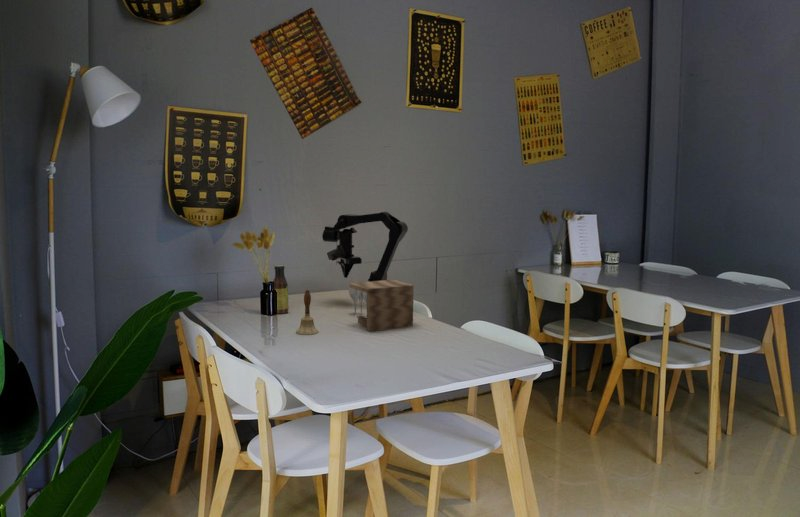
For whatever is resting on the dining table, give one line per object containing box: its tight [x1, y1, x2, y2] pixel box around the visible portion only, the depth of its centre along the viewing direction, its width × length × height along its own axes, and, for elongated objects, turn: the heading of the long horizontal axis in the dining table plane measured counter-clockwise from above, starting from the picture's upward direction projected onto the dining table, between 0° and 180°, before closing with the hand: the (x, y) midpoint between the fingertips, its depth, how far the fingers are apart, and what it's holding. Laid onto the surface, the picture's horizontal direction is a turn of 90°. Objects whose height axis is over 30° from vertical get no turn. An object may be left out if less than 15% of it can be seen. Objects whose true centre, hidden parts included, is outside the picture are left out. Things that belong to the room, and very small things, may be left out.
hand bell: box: [295, 289, 319, 336], centre depth 248 cm, size 8×8×16 cm
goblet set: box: [348, 286, 367, 319], centre depth 270 cm, size 28×6×13 cm, turn 28°
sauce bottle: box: [272, 264, 289, 315], centre depth 280 cm, size 6×6×20 cm
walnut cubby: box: [348, 279, 415, 333], centre depth 261 cm, size 20×15×16 cm
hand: (345, 277), depth 299 cm, fingers closed
